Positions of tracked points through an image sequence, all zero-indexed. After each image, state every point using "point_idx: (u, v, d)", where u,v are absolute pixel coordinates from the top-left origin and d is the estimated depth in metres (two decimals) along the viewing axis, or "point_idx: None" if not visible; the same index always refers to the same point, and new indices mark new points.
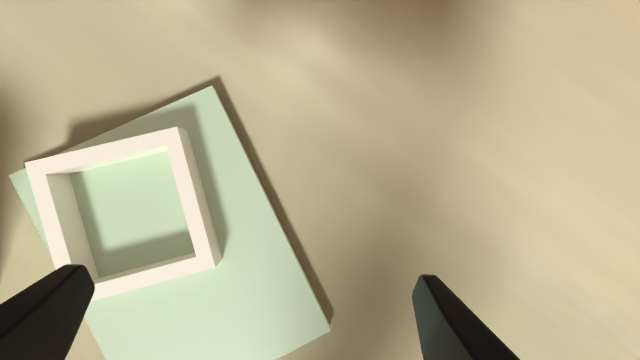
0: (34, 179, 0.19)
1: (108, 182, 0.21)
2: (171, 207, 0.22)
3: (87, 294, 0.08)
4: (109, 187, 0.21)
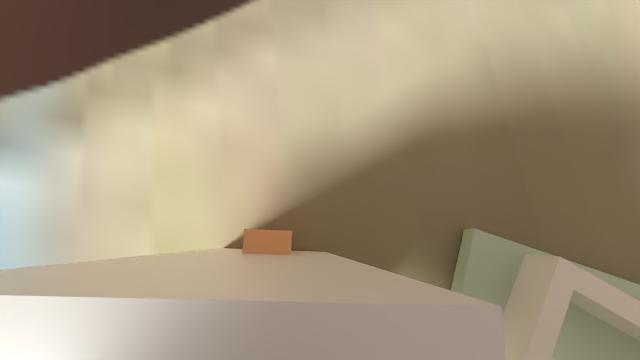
0: (558, 285, 0.13)
1: (571, 330, 0.14)
2: None
3: None
4: (569, 337, 0.14)
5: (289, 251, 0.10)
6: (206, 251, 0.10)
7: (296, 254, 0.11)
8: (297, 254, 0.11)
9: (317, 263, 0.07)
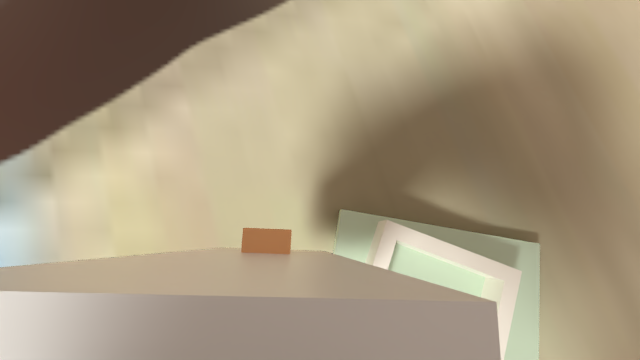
0: (386, 238, 0.19)
1: (413, 268, 0.21)
2: None
3: None
4: (411, 272, 0.21)
5: (288, 250, 0.10)
6: (205, 250, 0.10)
7: (295, 253, 0.11)
8: (296, 253, 0.11)
9: (315, 261, 0.07)
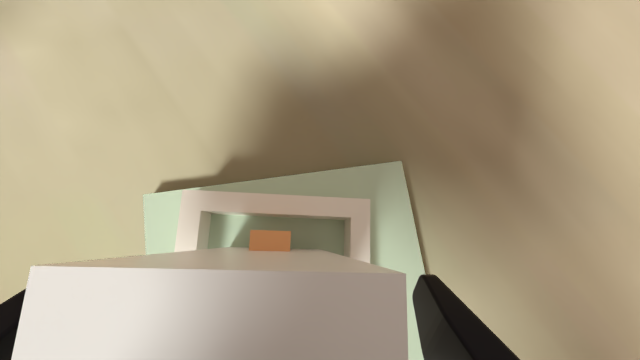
0: (185, 213, 0.15)
1: None
2: None
3: None
4: None
5: (288, 248, 0.12)
6: (218, 249, 0.12)
7: (294, 251, 0.13)
8: (295, 251, 0.13)
9: (309, 256, 0.08)
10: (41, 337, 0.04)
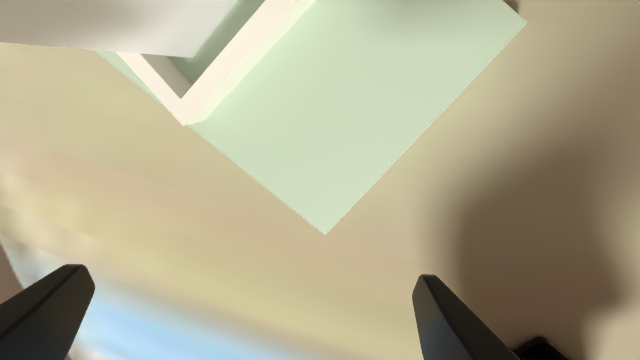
0: None
1: None
2: None
3: (87, 294, 0.08)
4: None
5: None
6: None
7: None
8: None
9: None
10: None
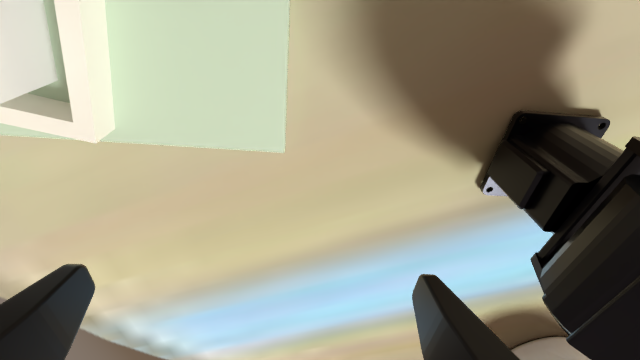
0: None
1: None
2: None
3: (87, 294, 0.08)
4: None
5: None
6: None
7: None
8: None
9: None
10: None
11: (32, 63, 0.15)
